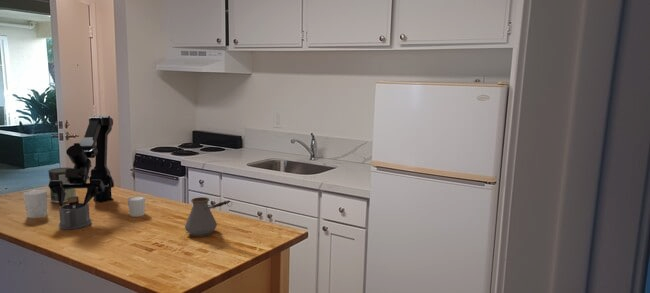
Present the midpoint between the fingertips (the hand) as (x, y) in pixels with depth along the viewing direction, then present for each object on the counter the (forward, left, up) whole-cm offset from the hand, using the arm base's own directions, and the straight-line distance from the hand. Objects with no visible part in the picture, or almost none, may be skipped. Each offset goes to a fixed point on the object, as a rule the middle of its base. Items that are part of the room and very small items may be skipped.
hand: (72, 205), depth 168 cm
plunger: (-1, -1, -6) cm, 6 cm away
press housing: (-1, -1, -8) cm, 8 cm away
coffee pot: (-27, +48, -8) cm, 56 cm away
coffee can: (-13, -41, -8) cm, 44 cm away
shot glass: (-23, +5, -8) cm, 25 cm away
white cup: (+4, -24, -8) cm, 26 cm away
